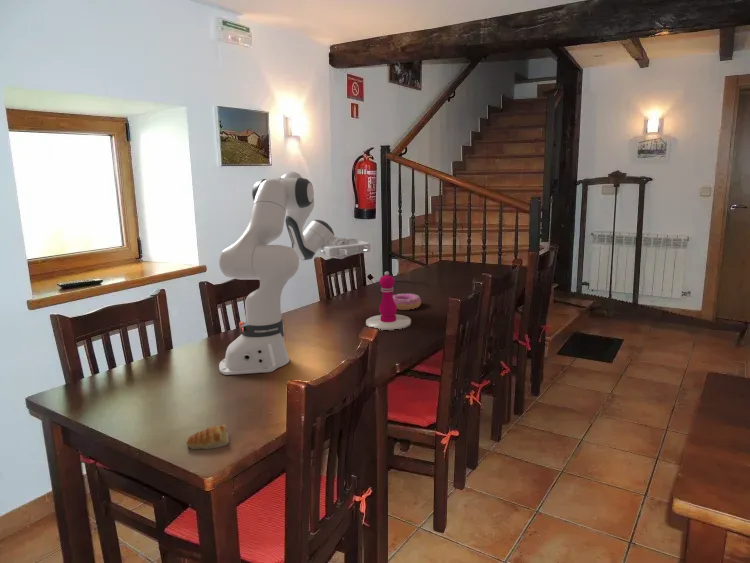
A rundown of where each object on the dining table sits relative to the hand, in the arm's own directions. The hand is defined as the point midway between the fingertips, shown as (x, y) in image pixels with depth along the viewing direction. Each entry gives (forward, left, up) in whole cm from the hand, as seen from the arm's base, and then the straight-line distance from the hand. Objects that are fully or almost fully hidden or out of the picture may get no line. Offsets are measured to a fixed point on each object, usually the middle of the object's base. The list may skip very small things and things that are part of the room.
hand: (358, 250), depth 214 cm
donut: (+24, +15, -30) cm, 41 cm away
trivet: (+9, -8, -29) cm, 32 cm away
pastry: (-58, -85, -30) cm, 107 cm away
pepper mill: (+9, -8, -28) cm, 31 cm away
